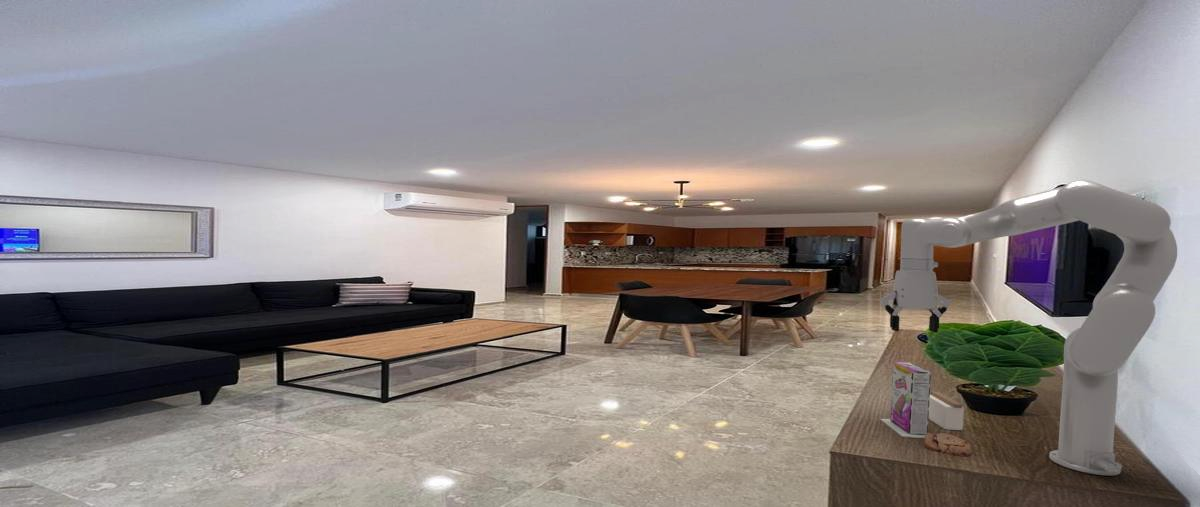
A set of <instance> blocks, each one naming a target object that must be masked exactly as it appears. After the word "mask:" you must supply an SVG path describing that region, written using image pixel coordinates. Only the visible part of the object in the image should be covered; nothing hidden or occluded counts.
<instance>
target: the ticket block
mask: <svg viewBox="0 0 1200 507" xmlns="http://www.w3.org/2000/svg"><path fill="white" fill-rule="evenodd" d="M964 411H965V408H964V407H963V404H962V403H960V402H958V401H957V400H954V399H952V398H951V397H949V396H947V395H945V394H944V393H941V392H940V391H936V390H935V391H933V390H930V398H929V418H928V421H929V420H930V421H929V422H930V423H933V424H934V425H936V426H938V428H940V429H944V430H949V431H950V430H952V431H954V430H955V431H963V429H964V415H965V414H964Z"/></svg>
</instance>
